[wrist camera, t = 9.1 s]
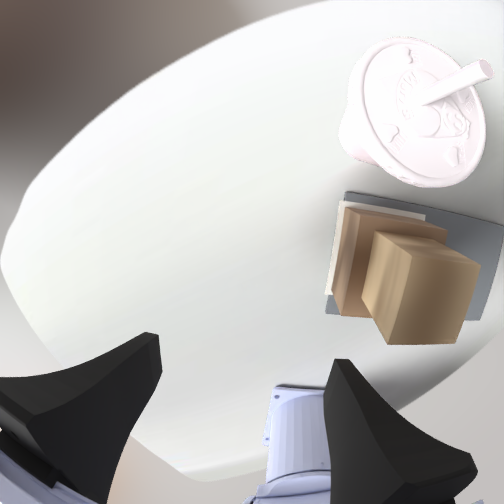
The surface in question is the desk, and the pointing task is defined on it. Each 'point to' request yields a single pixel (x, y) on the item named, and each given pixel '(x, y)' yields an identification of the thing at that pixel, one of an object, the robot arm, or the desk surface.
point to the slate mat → (458, 238)
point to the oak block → (418, 289)
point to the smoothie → (415, 112)
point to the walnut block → (368, 252)
